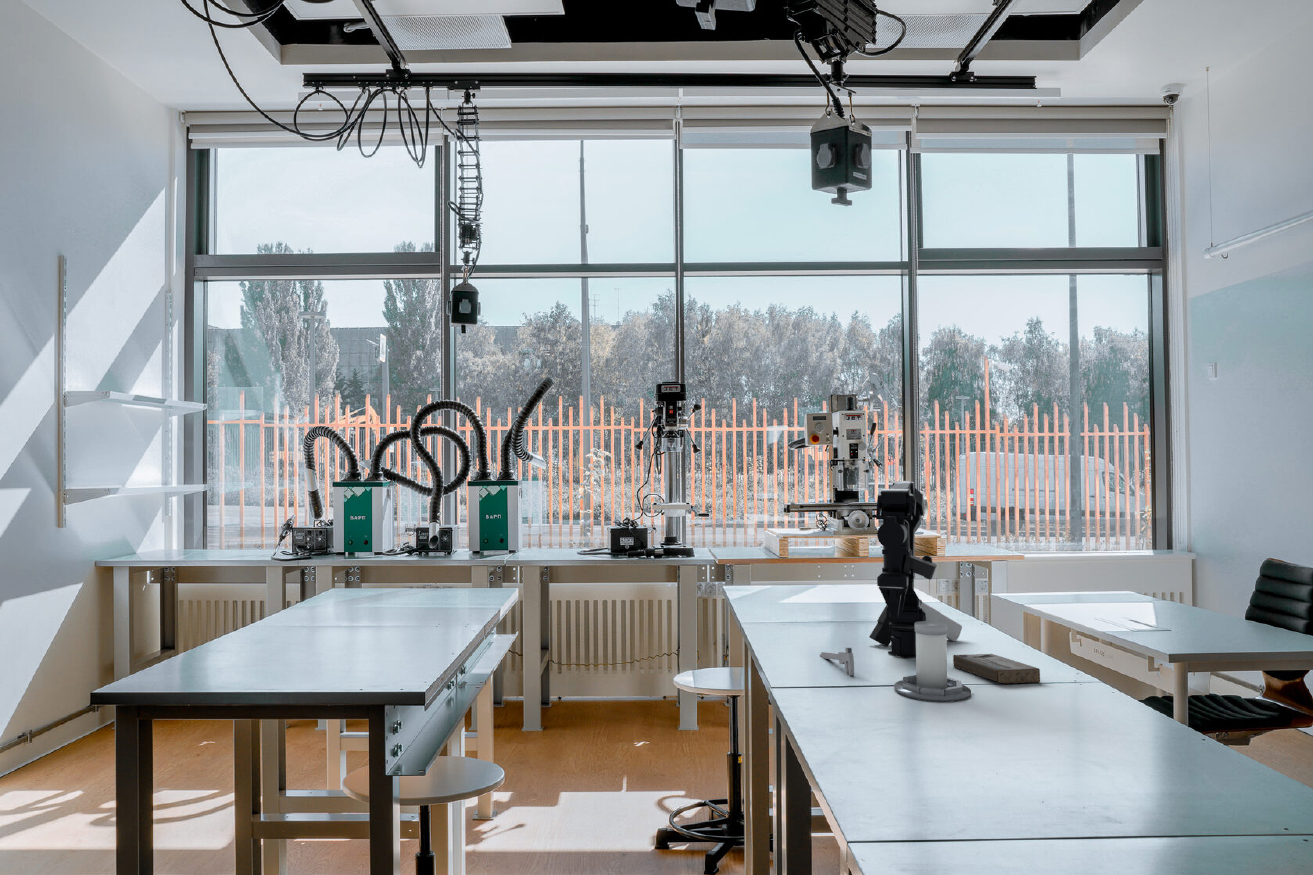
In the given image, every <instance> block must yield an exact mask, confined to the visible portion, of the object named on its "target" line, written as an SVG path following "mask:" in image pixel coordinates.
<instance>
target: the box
mask: <svg viewBox="0 0 1313 875" xmlns="http://www.w3.org/2000/svg"><path fill="white" fill-rule="evenodd" d="M952 657H953V658H952V660H953V662H952V663H953V668H955V669H959V670H962V671H965V672H967V673H971V674H974V675H977V676H980V677H983V678H985V679H989V680H992V681H995V682H997V683H1001V684H1002V683H1003V684H1005V685H1008V684H1014V685H1017V684H1020V683H1021V684H1025V683H1032V684H1034V683H1038V684H1039V683H1040V682H1041V669H1040V668H1039V667H1035V666H1033V665H1029V664H1026V663H1022V662H1020V661H1016V660H1014V659H1009V658H1007V657H1004V656H1000V655H997V654H993V653H978V654H977V653H976V654H953V655H952Z"/></svg>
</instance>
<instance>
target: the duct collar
mask: <svg viewBox="0 0 1313 875" xmlns="http://www.w3.org/2000/svg"><path fill="white" fill-rule="evenodd" d="M893 689H894V690H893V691H894V692H895V693H896V694H897V695H900V696H902V697H905V698H907V699H912V700H916V701H924V702H929V703H930V702H931V703H954V702H955V703H956V702H963V701H965V700H968V699H970V698H971V696H972V689H971V688H970V687H968V686H967V685H965V684H962V680H959V679H955V678H952V677H948V676H947V688H944V689H940V688H926V687H920V686H917V680H916V674H914V675H909V676H903V677H902V680H899V681H896V682H895V683H894V684H893Z"/></svg>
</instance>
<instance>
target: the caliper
mask: <svg viewBox="0 0 1313 875" xmlns="http://www.w3.org/2000/svg"><path fill="white" fill-rule="evenodd" d="M844 649H845V651H838V652H831V651H830V652H828V651H821V653H820V654H819V656H820V657H821V658H823V659H826V660H835V661H838V663H839V664H840V665H844V669H845V673H846V675H848V676H849V677H854V676H855V659H854V653H853V650H852V649H853V648H852V647H844Z"/></svg>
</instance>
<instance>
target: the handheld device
mask: <svg viewBox="0 0 1313 875" xmlns="http://www.w3.org/2000/svg"><path fill="white" fill-rule="evenodd" d="M919 600H920V607H923V610H924V612H925V613H926V621H935V622H942V623H945V624H947V634H946V640H948V641H951V642H953V643H954V642H955V643H956V642H957V640H958V639H959V637H960V635H961V632H962V629H963V626H962V624H960V623H958V622H956V621H955V620H953V619H951V618H949V617H948V616H946V615H944V614H943V613H941V612H940V611H939V610H938V609H936V608H934V607H933V606H930V605H928V604H926V603H925V602H923V601H922V599H920V598H919ZM884 603H885V604H886V602H885V601H884ZM886 610H887V604H886V605H885V607H884V608H883V610H882V612H881V613H880V616H879V617H878V618H877V623H876V625H875V627H874V628H873V629H872V631H871V633H870V635H869V639H872V640H873V641H875V642H876V643H878V644H879V645H882V646H885V647H889V645H891V636H892V630H887V615H886Z"/></svg>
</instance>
